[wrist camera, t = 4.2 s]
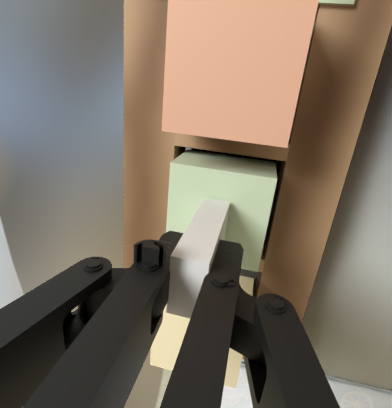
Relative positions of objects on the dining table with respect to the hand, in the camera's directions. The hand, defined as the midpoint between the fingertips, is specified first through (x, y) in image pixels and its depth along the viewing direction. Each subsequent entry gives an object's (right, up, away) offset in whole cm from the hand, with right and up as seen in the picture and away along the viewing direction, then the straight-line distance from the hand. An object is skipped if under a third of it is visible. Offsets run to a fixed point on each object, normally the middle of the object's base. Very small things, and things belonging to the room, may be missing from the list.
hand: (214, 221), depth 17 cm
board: (+1, +2, +5) cm, 6 cm away
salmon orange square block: (+1, +8, -1) cm, 8 cm away
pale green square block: (+1, +2, +4) cm, 4 cm away
